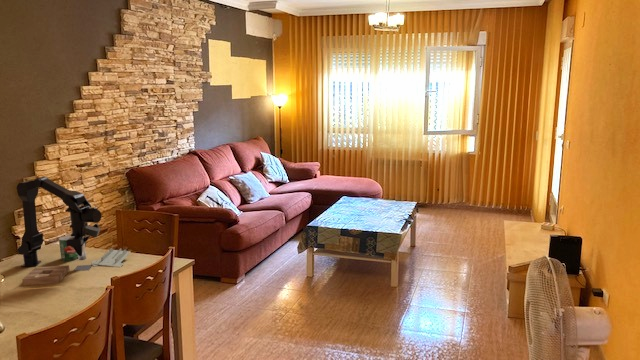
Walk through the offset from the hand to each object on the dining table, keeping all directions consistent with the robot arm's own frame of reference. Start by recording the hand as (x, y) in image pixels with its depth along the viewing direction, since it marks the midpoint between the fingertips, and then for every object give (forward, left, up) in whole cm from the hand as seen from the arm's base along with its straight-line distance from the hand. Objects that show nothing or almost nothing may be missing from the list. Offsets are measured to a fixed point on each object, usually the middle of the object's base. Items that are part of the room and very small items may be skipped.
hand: (81, 254), depth 229 cm
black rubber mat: (0, 0, -7) cm, 7 cm away
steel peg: (0, 0, -2) cm, 2 cm away
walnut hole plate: (+10, -12, -7) cm, 17 cm away
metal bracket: (-6, +12, -7) cm, 15 cm away
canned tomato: (-14, -10, -7) cm, 19 cm away
